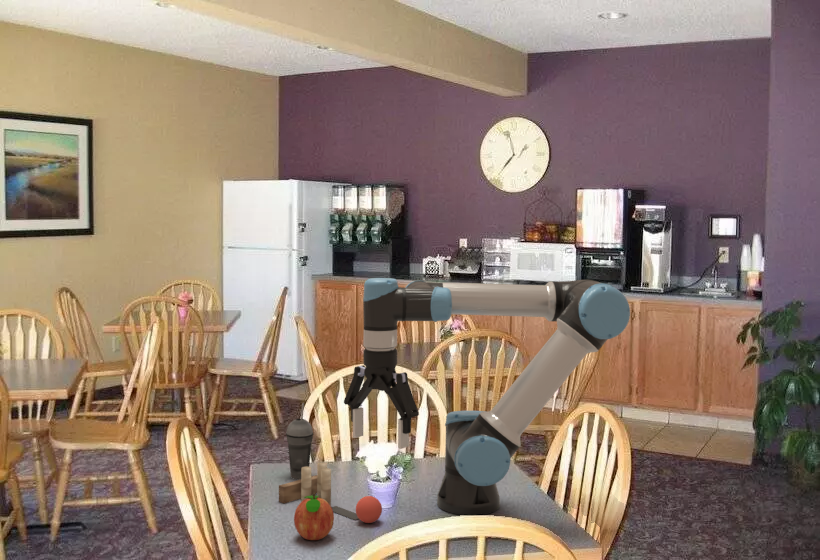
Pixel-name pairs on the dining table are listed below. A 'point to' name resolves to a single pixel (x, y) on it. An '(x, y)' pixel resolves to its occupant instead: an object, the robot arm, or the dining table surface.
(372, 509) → the ball
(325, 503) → the fruit
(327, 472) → the pin front
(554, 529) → the dining table surface
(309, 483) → the pin
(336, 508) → the dark grey flat bar
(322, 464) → the pin
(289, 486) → the back rail
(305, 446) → the beverage cup
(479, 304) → the robot arm
